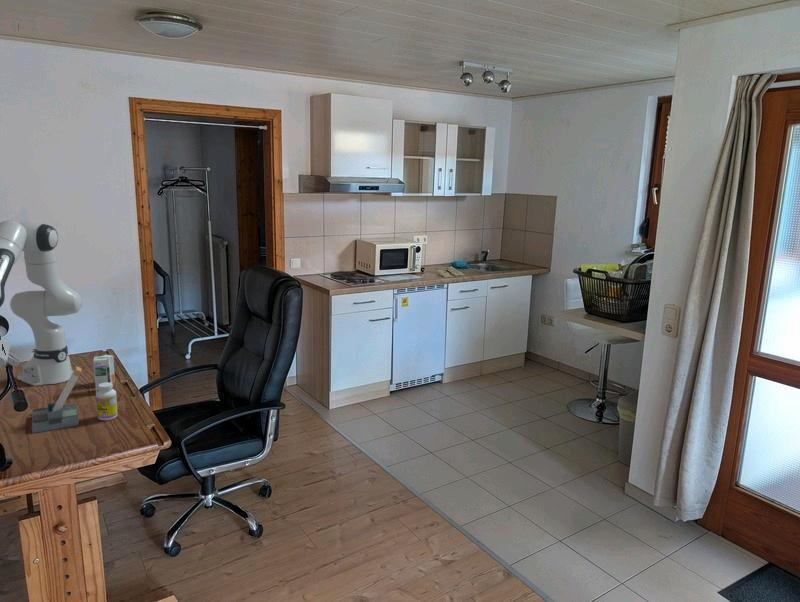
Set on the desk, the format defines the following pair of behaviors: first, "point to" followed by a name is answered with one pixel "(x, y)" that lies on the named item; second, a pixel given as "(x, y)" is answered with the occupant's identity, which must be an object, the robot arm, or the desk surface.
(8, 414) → the desk surface
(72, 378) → the lever
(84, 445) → the desk surface
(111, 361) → the skincare box
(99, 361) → the syrup box
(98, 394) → the supplement bottle
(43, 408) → the pair of grey rods
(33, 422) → the breaker panel
